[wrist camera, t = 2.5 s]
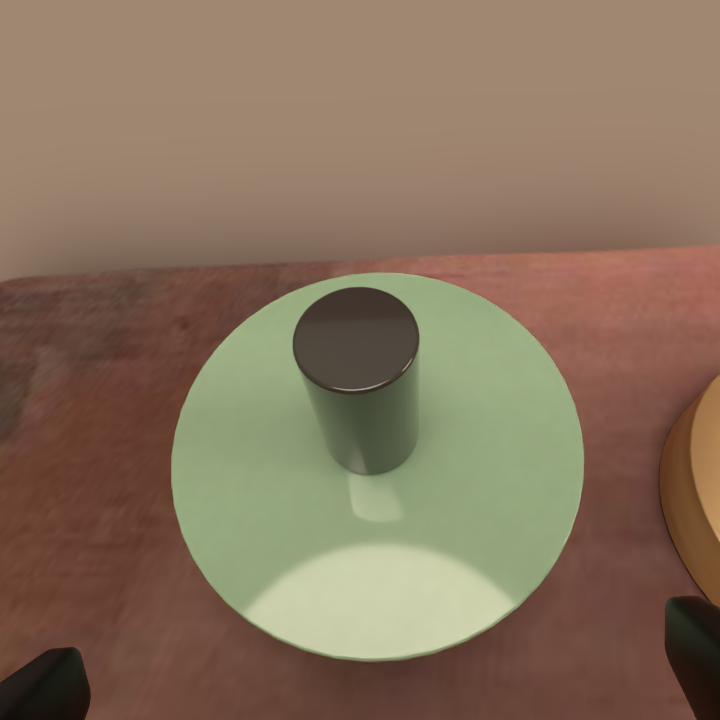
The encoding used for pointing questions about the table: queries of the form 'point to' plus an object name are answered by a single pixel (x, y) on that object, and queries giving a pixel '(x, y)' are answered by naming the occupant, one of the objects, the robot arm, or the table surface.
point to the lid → (377, 467)
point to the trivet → (695, 488)
